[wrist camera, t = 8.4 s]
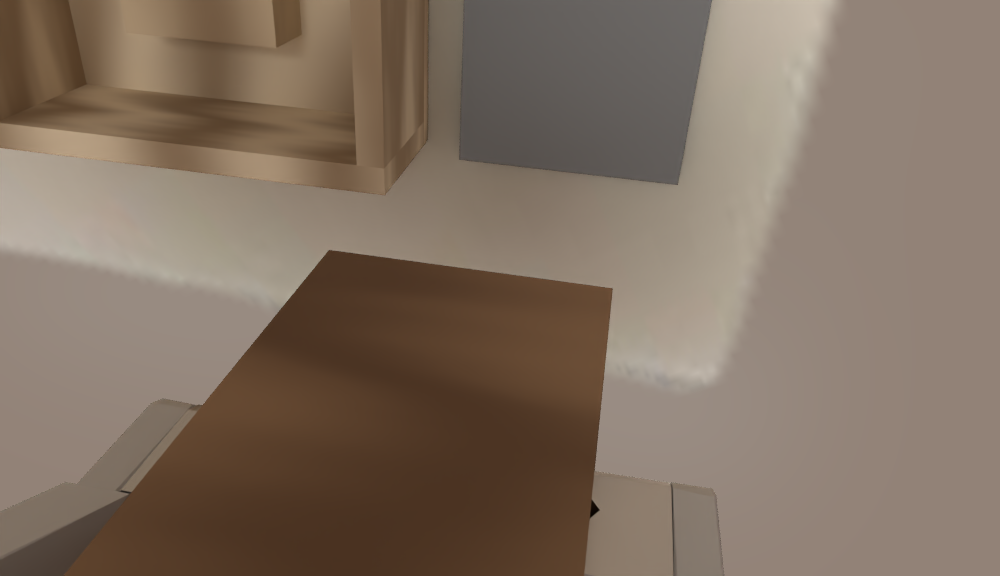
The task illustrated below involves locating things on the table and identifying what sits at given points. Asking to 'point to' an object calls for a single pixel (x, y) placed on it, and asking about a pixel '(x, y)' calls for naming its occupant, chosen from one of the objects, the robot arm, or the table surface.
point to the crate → (221, 86)
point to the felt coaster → (581, 84)
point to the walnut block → (385, 436)
